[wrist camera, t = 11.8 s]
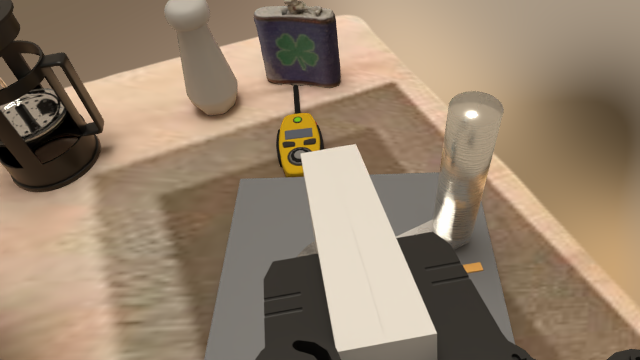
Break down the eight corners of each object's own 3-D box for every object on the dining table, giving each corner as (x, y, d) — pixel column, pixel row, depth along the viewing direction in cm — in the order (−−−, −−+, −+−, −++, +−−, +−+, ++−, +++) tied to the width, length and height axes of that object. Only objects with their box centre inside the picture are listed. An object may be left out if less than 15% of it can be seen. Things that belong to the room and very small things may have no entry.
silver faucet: (318, 357, 33) (292, 251, 23) (276, 270, 38) (239, 151, 28) (499, 264, 37) (544, 137, 27) (438, 195, 42) (457, 66, 32)
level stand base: (189, 466, 31) (182, 462, 30) (243, 187, 47) (240, 177, 46) (540, 476, 29) (546, 471, 28) (472, 179, 45) (474, 170, 44)
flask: (264, 83, 58) (246, 0, 50) (271, 69, 60) (255, -14, 52) (338, 89, 56) (332, 3, 48) (344, 74, 58) (338, -11, 50)
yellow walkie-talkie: (276, 173, 46) (273, 79, 56) (279, 186, 47) (276, 92, 57) (326, 167, 46) (314, 74, 56) (327, 181, 47) (316, 87, 57)
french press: (-4, 201, 49) (-211, -16, 32) (17, 140, 55) (-147, -69, 38) (112, 177, 49) (-30, -48, 32) (119, 120, 56) (3, -94, 39)
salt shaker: (252, 97, 56) (225, -8, 46) (220, 126, 53) (184, 21, 43) (215, 83, 59) (183, -19, 49) (183, 111, 56) (141, 7, 46)
